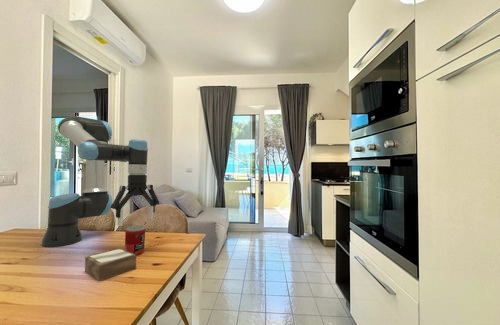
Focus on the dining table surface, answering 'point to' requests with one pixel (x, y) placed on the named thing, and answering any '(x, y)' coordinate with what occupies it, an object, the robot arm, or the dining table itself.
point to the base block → (110, 263)
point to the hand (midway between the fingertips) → (136, 222)
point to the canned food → (135, 239)
